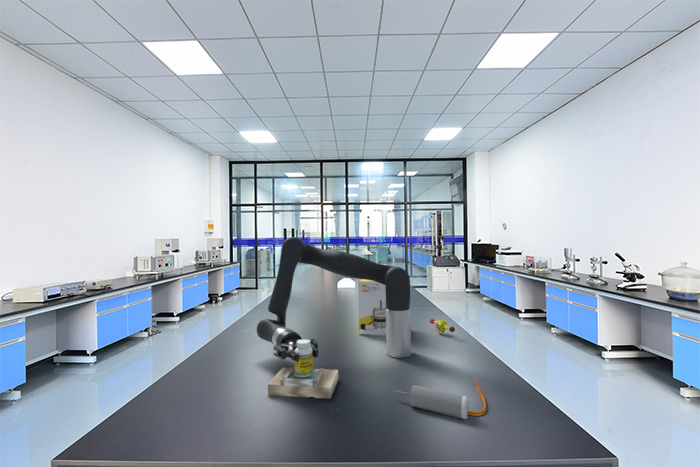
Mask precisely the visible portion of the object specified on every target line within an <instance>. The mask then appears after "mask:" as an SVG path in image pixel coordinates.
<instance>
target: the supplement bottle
mask: <svg viewBox="0 0 700 467" xmlns="http://www.w3.org/2000/svg"><path fill="white" fill-rule="evenodd" d="M310 341H311V339H302V340H298V341H297V347H298V348H296V349H295V352H297V353H298V355H299V361H298V362H295V361H294V367H295V375H296V376H297V377H300V378H304V377H309V376H311V375H312V374H313V369H314V357H313V350H312V348H311V347H310Z"/></svg>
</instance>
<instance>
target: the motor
mask: <svg viewBox="0 0 700 467" xmlns="http://www.w3.org/2000/svg"><path fill="white" fill-rule="evenodd" d="M472 379H473V381H474V386H475V389H477V392H478V393H479V396H480V398H481V400H482V402H483V409H482V410H480V411H471V410H470V408H469V406H470V404H469V398H468V396H466V395H462V394H457V393H452V392H447V391H443V390H440V389H439V390H438V389H434V388H429V387H425V386H419V385H415V384H413V385H412V387H411V389H410V393H409V392H406V391H405V392H404V391H401V390H397V389H394V393H395V394H400V395H403V396H406V397H409V402H410V406H411V407H413V408H414V407H415V408H418V409H420V410H426V411H429V412H434V413H437V414H440V415H441V414H442V415H445V416H450V417H453V418H457V419H461V420H462V419H463V420H467V419H468V416H473V417H480V416H483V415H485V413H486V412H487V403H486V402H487V401H486V399H485V396H484V393H483V391H482V389H481V387H480V386H479V384H478V382H477V381H476V379H475V378H474V377H473V378H472Z"/></svg>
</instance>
